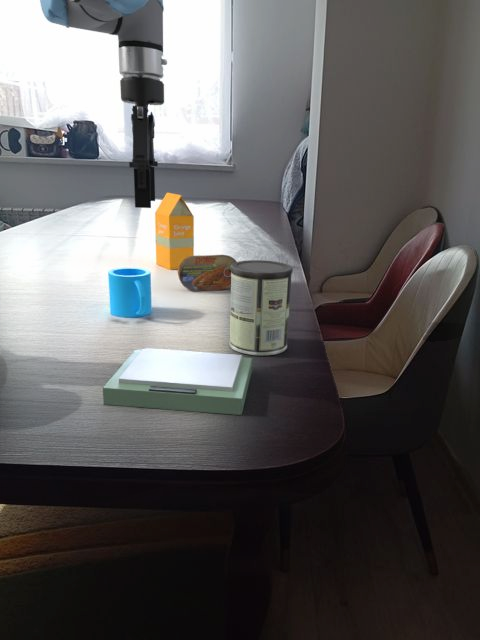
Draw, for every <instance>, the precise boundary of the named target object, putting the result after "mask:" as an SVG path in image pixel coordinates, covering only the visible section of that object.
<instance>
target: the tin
mask: <svg viewBox="0 0 480 640" xmlns="http://www.w3.org/2000/svg"><path fill="white" fill-rule="evenodd" d="M235 262H238V261H237V260H236V259H235V258H234V257H232V256H230V255H227V254H204V255H199V254H198V255H194V256H189V257H187V258H185V259H184V260H183V261H182V262H181V263H180V265H179V268H178V269H177V277H178V280H179V282H180V283H181V284H182V286H183V287H184V288H185V289H187V290H189V291H190V292H206V291H222V290H228V289H231V264H233V263H235Z"/></svg>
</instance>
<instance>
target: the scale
mask: <svg viewBox="0 0 480 640" xmlns="http://www.w3.org/2000/svg"><path fill="white" fill-rule="evenodd" d="M252 368H253V358H252V357H244V356H243V354H231V353H221V352H218V353H217V352H206V351H192V350H180V349H179V350H178V349H177V350H176V349H166V348H165V349H164V348H150V347H143V348H142V349H134V351H133V352H132V353H131V354H130V355H129V357H128V358H126V360H125V361H123V363H122V365H121V366H120V367H118V370H116V372H115V373H114V374H113V375H112V376H111V377H110V379H108V381H107V382H106V384H104V385H103V386H102V399H103V400H102V401H103V405H108V406H118V407H119V406H121V407H133V408H134V407H135V408H145V409H159V410H170V411H172V410H173V411H182V412H196V413H197V412H198V413H208V414H221V415H222V414H223V415H234V416H235V415H236V416H242V414H243V411H244V406H245V402H246V397H247V394H248V389H249V385H250V380H251V377H252V371H253V370H252Z"/></svg>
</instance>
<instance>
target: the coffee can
mask: <svg viewBox="0 0 480 640" xmlns="http://www.w3.org/2000/svg"><path fill="white" fill-rule="evenodd" d="M293 271H294V267H293V266H291V265H289V264H288V263H284V262H281V261H273V260H263V259H262V260H260V259H252V260H249V259H248V260H240V261H237V262H235V263H233V264H231V288H230V315H229V323H230V324H229V343H228V345H229V347H230V349H231V350H232V351H235V352H237V353H241V354H242V355H247V356H255V357H267V356H275V355H279V354H281V353H283V352H285V351H286V350H287V349H288V331H289V317H290V301H291V289H292V288H291V287H292V275H293Z"/></svg>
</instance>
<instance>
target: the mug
mask: <svg viewBox="0 0 480 640" xmlns="http://www.w3.org/2000/svg"><path fill="white" fill-rule="evenodd" d="M107 272H108V273H107V279H108V294H109V296H108V297H109V312H110V314H111V315H113V316H114V317H119V318H140V317H141V318H142V317H145V316H149V315H150V314H152V311H153V310H152V308H153V307H152V276H151V275H152V273H151V271H150V270H149V269H146V268H140V267H119V268H113V269H110V270H108V271H107Z"/></svg>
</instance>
